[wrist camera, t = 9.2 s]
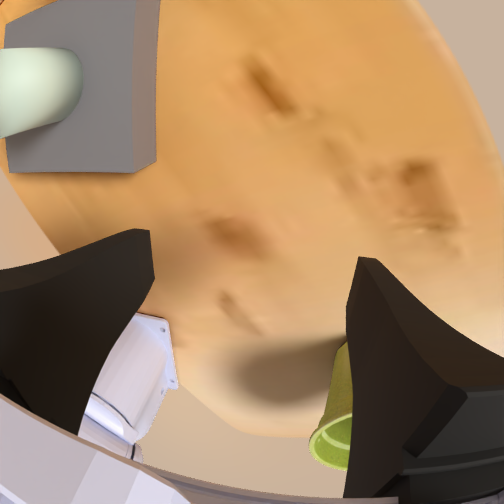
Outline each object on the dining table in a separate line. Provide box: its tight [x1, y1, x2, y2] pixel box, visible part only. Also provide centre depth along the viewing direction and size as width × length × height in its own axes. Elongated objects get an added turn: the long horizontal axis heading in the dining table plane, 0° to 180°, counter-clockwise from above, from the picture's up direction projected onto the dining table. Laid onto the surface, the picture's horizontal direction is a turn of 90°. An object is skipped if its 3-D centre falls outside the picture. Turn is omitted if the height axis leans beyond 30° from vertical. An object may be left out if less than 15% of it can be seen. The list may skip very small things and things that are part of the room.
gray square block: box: [4, 0, 160, 173], centre depth 17 cm, size 12×12×3 cm
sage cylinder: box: [0, 48, 84, 139], centre depth 13 cm, size 5×5×5 cm
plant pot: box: [309, 342, 353, 471], centre depth 21 cm, size 9×9×9 cm
